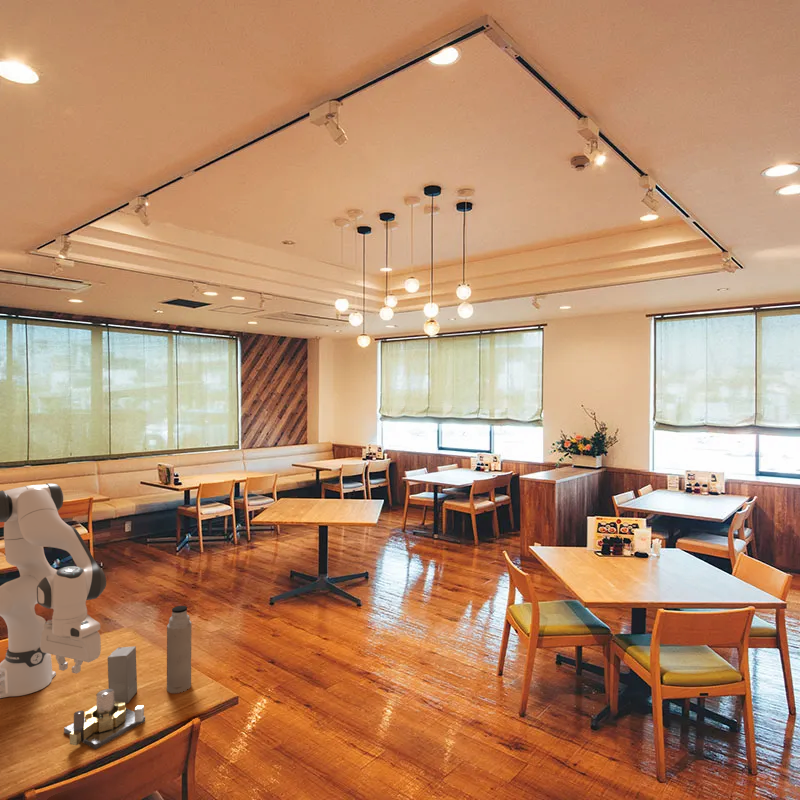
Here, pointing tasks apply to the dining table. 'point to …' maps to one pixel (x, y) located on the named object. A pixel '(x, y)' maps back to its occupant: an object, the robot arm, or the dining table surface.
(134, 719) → the grey peg base
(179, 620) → the thermos bottle
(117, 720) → the tan ring with handle
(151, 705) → the dining table surface
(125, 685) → the skincare box
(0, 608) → the robot arm
